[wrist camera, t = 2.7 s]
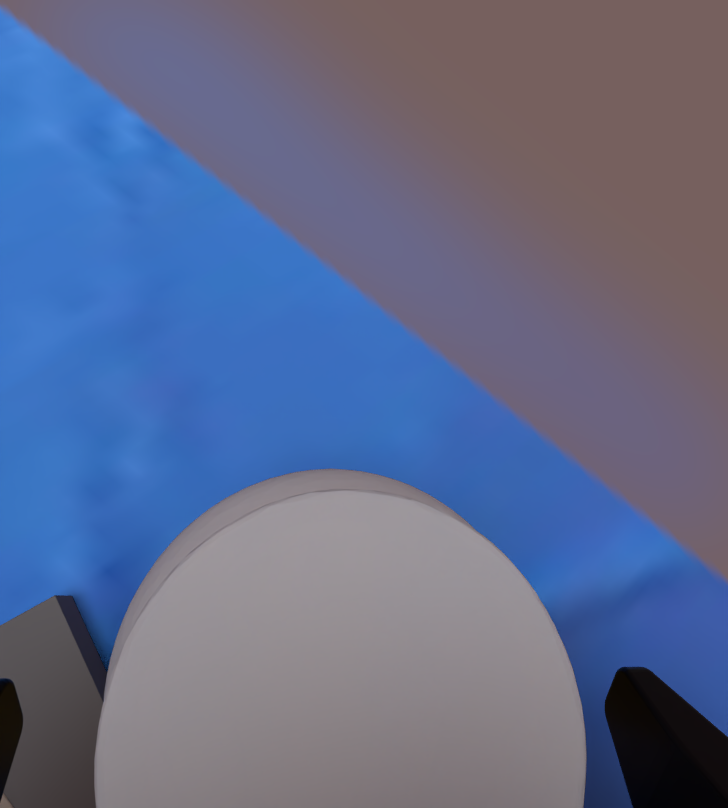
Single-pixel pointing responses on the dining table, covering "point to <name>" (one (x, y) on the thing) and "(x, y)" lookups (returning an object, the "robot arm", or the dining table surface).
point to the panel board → (53, 706)
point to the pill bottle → (337, 662)
